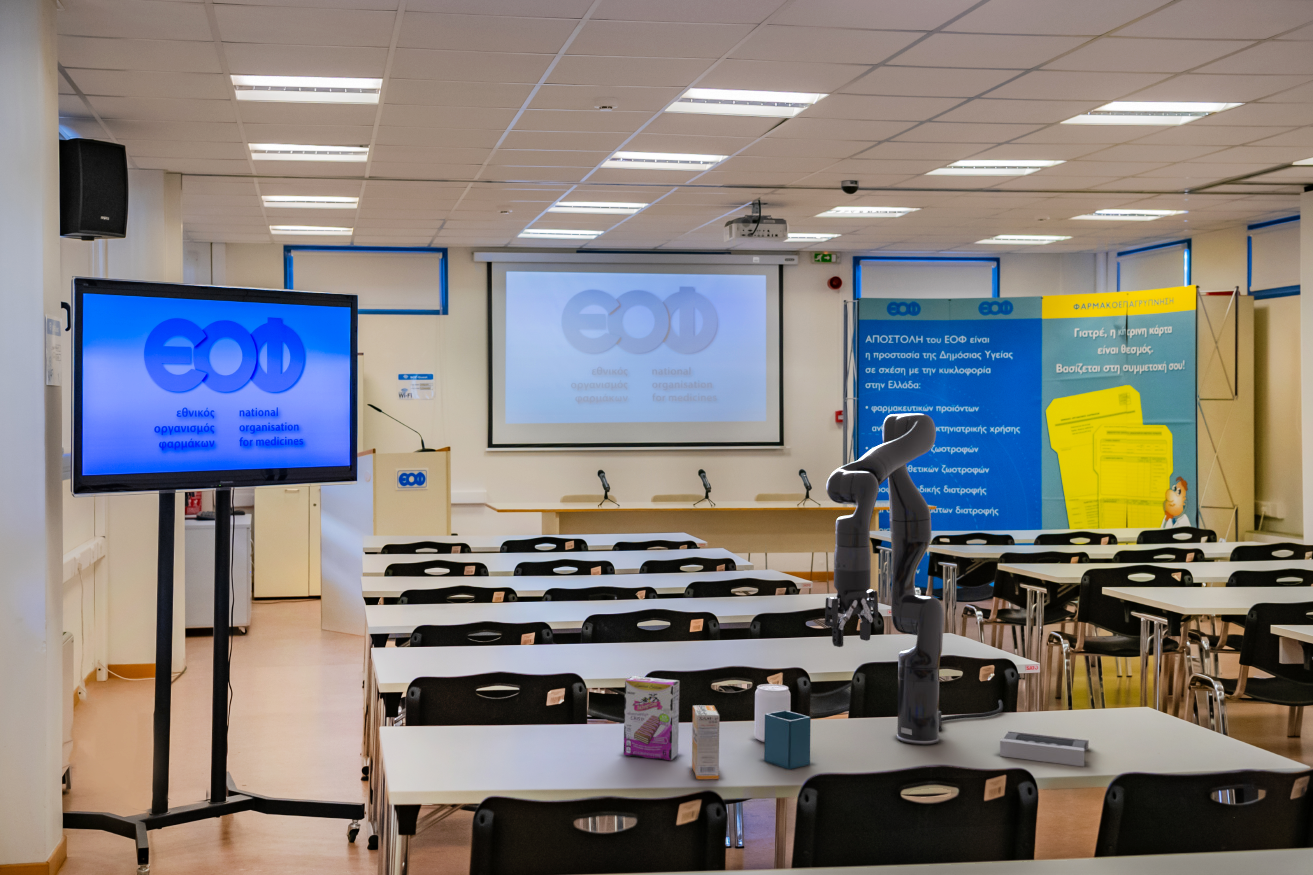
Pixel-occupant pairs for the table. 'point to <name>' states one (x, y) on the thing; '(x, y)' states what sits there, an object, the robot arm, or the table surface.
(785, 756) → the teal rectangular box
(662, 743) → the candy bar box
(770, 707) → the beverage can
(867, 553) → the robot arm
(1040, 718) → the table surface
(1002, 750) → the grey slotted tray
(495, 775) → the table surface
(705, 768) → the supplement box
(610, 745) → the table surface
